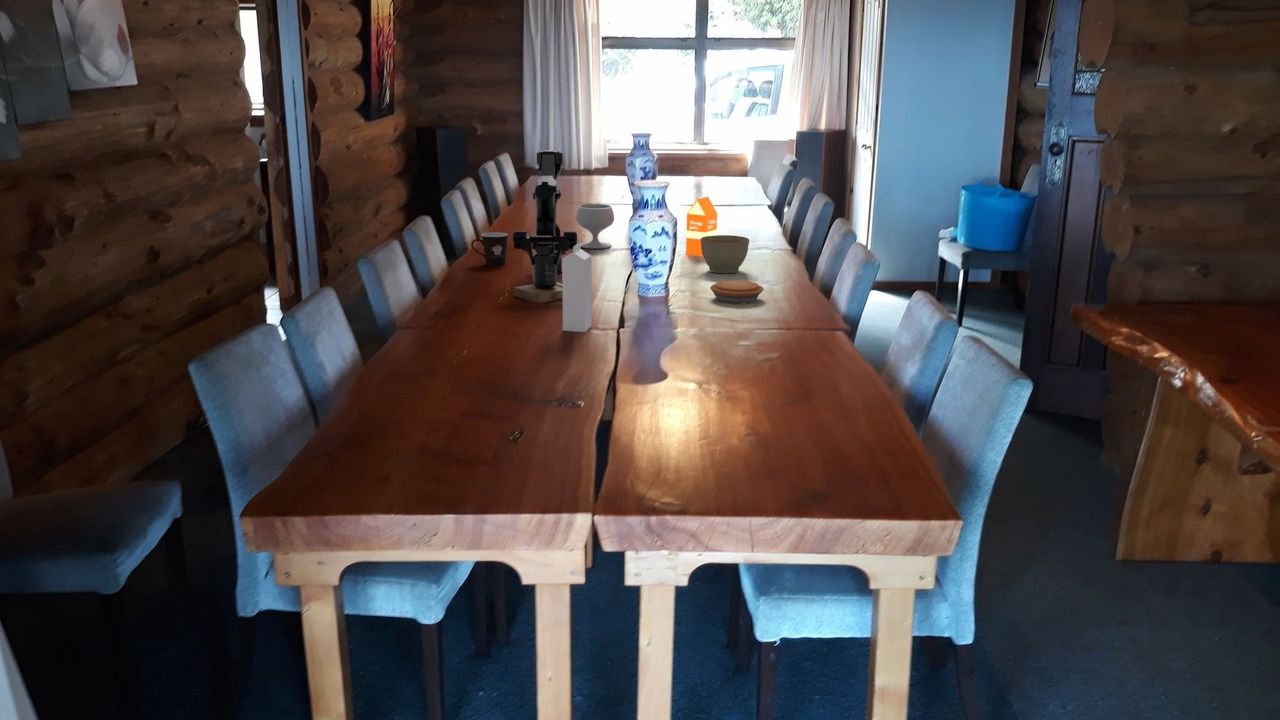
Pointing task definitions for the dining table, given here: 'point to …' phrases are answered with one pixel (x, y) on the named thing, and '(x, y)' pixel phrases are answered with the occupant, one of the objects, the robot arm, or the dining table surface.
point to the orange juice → (700, 224)
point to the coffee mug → (493, 248)
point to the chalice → (595, 222)
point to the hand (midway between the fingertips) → (544, 264)
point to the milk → (576, 290)
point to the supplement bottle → (544, 267)
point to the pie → (736, 291)
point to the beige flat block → (539, 293)
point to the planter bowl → (724, 252)
